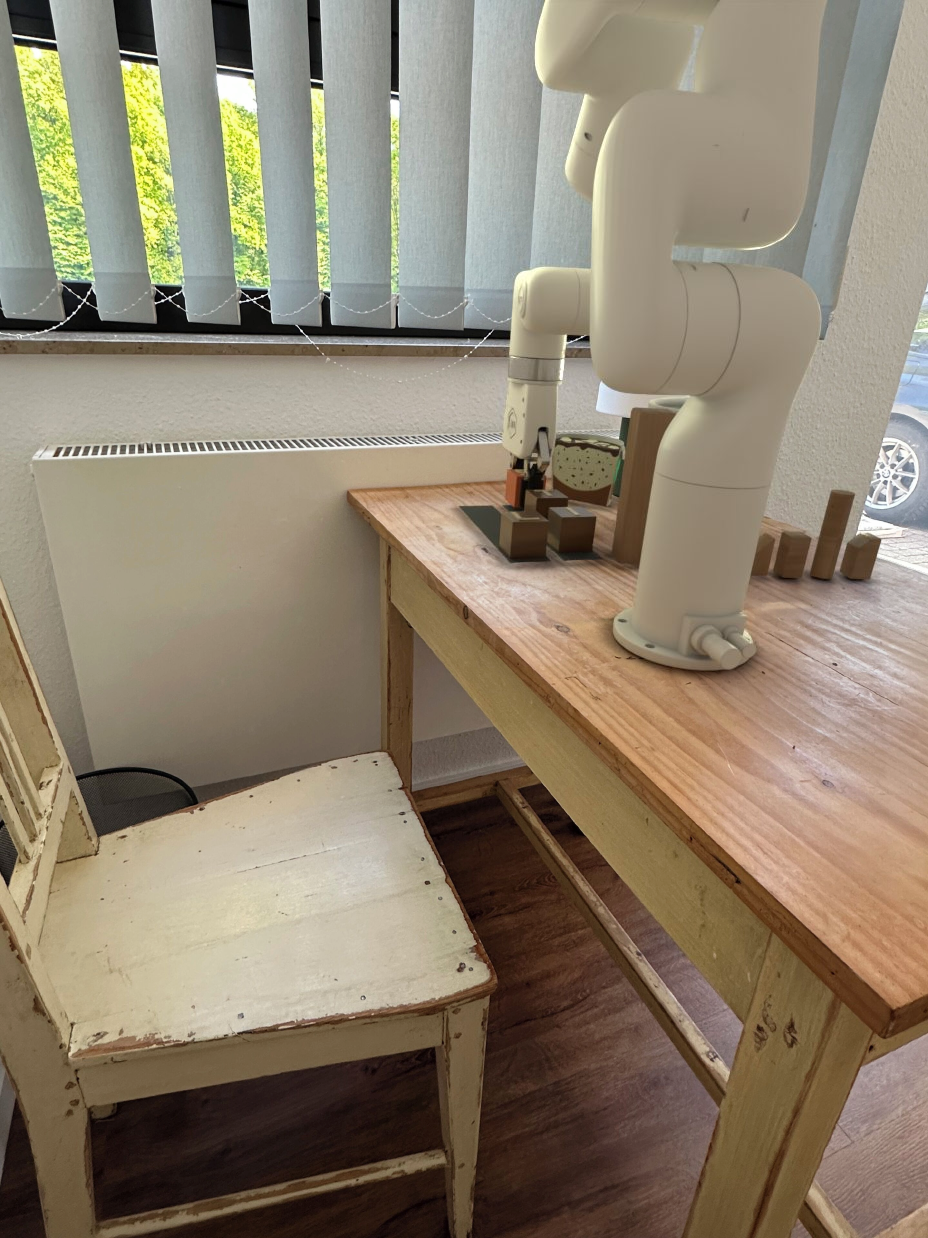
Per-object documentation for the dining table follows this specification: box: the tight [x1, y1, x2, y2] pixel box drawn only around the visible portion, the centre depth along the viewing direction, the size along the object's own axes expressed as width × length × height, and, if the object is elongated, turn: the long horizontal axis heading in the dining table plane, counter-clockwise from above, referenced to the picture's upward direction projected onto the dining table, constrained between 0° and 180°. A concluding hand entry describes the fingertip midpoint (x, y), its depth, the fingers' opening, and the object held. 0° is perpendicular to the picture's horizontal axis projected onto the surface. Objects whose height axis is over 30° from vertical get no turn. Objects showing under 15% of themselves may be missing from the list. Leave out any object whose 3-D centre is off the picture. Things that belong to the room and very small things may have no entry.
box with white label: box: [499, 511, 549, 559], centre depth 86 cm, size 4×4×5 cm
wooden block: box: [611, 406, 676, 565], centre depth 84 cm, size 9×4×18 cm, turn 90°
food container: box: [551, 432, 626, 508], centre depth 112 cm, size 12×6×10 cm, turn 58°
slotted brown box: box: [547, 506, 598, 553], centre depth 89 cm, size 4×4×5 cm
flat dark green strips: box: [458, 504, 604, 564], centre depth 96 cm, size 25×12×1 cm, turn 14°
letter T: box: [524, 488, 569, 520], centre depth 97 cm, size 4×4×5 cm
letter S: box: [504, 468, 547, 507], centre depth 104 cm, size 4×4×5 cm
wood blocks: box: [750, 489, 883, 580], centre depth 83 cm, size 25×3×10 cm, turn 95°
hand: (524, 500), depth 105 cm, fingers closed on letter S, 4 cm apart
